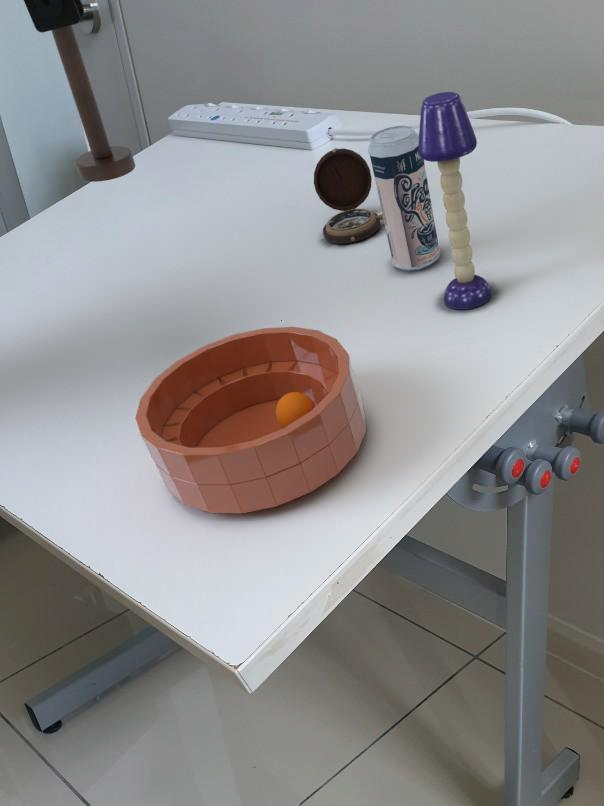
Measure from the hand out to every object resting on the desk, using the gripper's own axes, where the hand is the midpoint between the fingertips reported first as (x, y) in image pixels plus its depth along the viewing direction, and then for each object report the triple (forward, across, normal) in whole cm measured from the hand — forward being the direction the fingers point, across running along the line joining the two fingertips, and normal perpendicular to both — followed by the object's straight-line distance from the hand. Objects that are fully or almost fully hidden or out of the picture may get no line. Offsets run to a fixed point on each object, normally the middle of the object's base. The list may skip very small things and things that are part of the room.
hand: (61, 21), depth 62 cm
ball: (+25, +19, +9) cm, 32 cm away
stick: (+10, 0, -1) cm, 10 cm away
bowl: (+27, +20, +6) cm, 34 cm away
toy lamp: (+27, +4, +26) cm, 37 cm away
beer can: (+27, -5, +22) cm, 35 cm away
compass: (+27, -17, +18) cm, 37 cm away
